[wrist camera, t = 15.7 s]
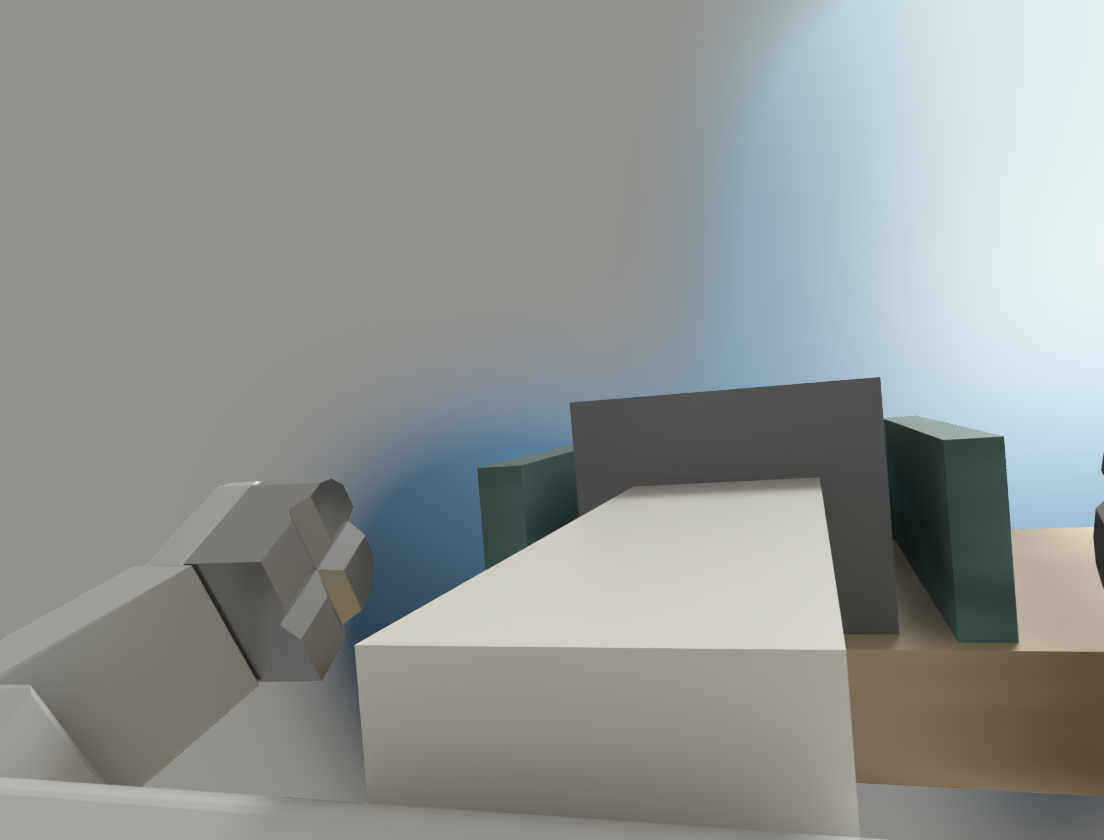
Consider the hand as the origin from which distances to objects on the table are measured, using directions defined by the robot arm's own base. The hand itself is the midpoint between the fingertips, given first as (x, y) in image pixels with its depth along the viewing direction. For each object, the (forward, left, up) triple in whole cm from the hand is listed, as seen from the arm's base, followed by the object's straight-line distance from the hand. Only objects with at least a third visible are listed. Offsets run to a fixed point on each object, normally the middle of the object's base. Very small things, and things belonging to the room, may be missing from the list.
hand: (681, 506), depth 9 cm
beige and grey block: (-1, -3, -3) cm, 5 cm away
